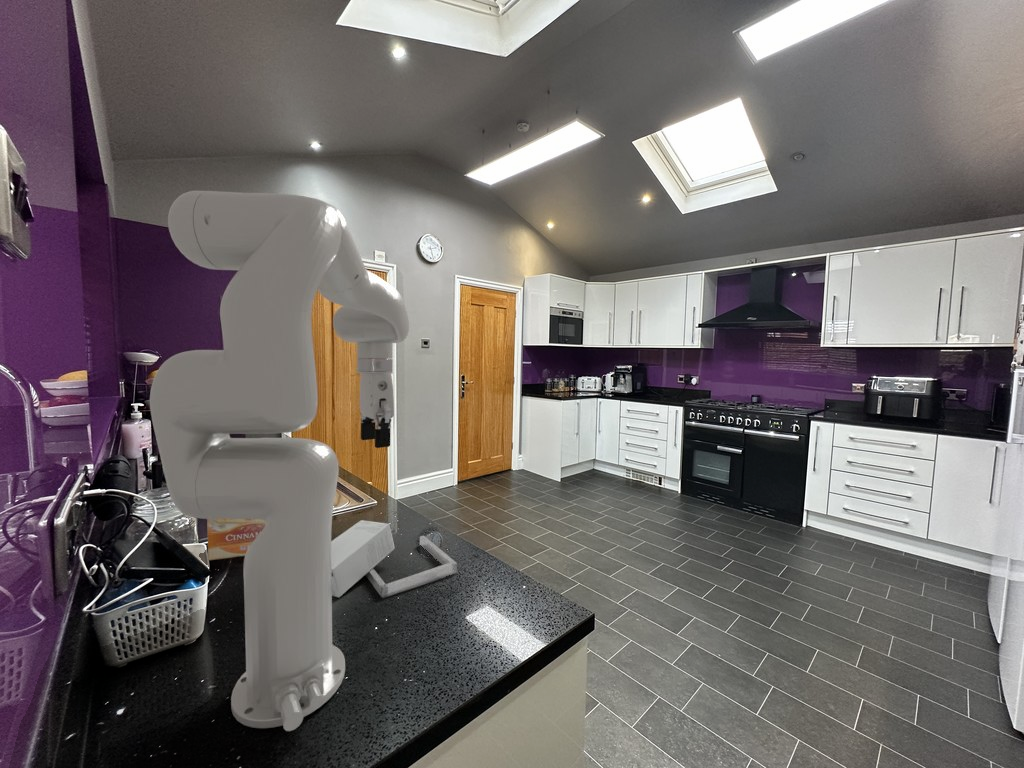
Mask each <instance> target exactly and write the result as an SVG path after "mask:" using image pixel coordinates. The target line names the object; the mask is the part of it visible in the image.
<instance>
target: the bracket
mask: <svg viewBox="0 0 1024 768" xmlns="http://www.w3.org/2000/svg"><path fill="white" fill-rule="evenodd" d="M420 545H421V546H422V547H423V548H424V549H423V548H422V547H421V546H420ZM419 546H420V547H421V548H422V549H423V550H425V549H426V550H427V551H428V552H429V553H430V554H431V555H432V556H433V557H432V558H433V559H434V560H436V559H437V560H436V561H437V562H438V561H439V562H440V563H441V564H442V565H441V564H440V563H439V562H438V563H439V564H440V565H438V566H436V567H433V568H430V569H427V570H423V571H420V572H418V573H415V574H412V575H409V576H406V577H403V578H400V579H398V580H394V581H391V582H388V583H386V582H384V580H383V579H382V578H381V576H380V575H379V573H377V571H376V570H375V569H374V567H373V568H372V569H371V570H370V571H369V572H368V573H366V574H365V575H364V576H365V577H366V578H367V579H368V581H369V582H370V583H371V585H372V586H373V588H374V589H375V590H376V592H377V593H378V594H379V596H380V598H382V599H384V598H388V597H391V596H393V595H396V594H399V593H403V592H405V591H408V590H411V589H415V588H418V587H420V586H424V585H426V584H430V583H432V582H435V581H438V580H441V579H444V578H447V577H450V576H451V575H455V574H457V573H458V563H457V562H456V561H455V560H454V559H453V558H451V557H450V555H448V554H447V553H446V552H445V551H443V550H442V549H441V548H439V547H438V546H437V545H436V544H435V543H434V542H433V541H431V540H430V539H428V537H427V536H425V535H420V536H419ZM426 550H425V551H426ZM427 551H426V552H427ZM428 552H427V553H428ZM429 553H428V554H429ZM430 554H429V555H430ZM431 555H430V556H431ZM449 575H450V576H449ZM446 576H447V577H446Z"/></svg>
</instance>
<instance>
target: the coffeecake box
mask: <svg viewBox="0 0 1024 768" xmlns="http://www.w3.org/2000/svg"><path fill="white" fill-rule="evenodd" d="M206 521H207V522H206V523H207V525H206V526H207V555H208V557H207V558H209V560H208V561H214V560H215V561H216V560H222V559H230V558H236V557H237V558H238V557H245V555H246V552H247V550H248V548H249V546H250V545H251V543H252V542H253V541H254V539H255V538H256V537H257V536H258V535H259V534H260V533H261V532H262V530H263V529H264V527H265V521H264V520H261V519H206Z"/></svg>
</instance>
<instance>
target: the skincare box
mask: <svg viewBox="0 0 1024 768" xmlns="http://www.w3.org/2000/svg"><path fill="white" fill-rule="evenodd" d="M394 550H395V544H394V538H393V534H392V530H391V525H390V523H385V522H377V521H372V520H371V521H370V520H363V519H361V520H359V521H357V523H355V524H353V526H350V528H348V529H347V530H344V532H342V533H341V534H339V535H338V536H337V537H335V538H334V539H332V540H331V573H332V597H335V598H340V597H342V596H343V594H345V593H346V592H347V591H348V590H349V589H350V588H352V587H353V586H354V585H355V584H356V583H358V582H359V581H360V580H361V579H362V578H363V577H364V576H366V575H365V574H366V573H368V572H369V571H370V570H371V569H372V568H373V569H374V568H375V567H376V566H377V565H378V564H379V563H380V562H382V560H384V559H385V558H386V557H387V556H389V555H390V554H391V553H392V551H394Z"/></svg>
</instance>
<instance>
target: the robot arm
mask: <svg viewBox="0 0 1024 768" xmlns="http://www.w3.org/2000/svg"><path fill="white" fill-rule="evenodd" d="M167 226H168V231H169V234H170V237H171V240H172V241H173V243H174V245H175V247H176V248H177V249H178V250H179V252H180V253H181V254H182V255H183V256H184V257H185V258H186V259H187V260H189V261H190V262H191V263H193V264H195V265H197V266H198V267H201V268H205V269H208V270H216V271H217V270H219V271H237V272H236V273H235V274H233V277H232V278H231V280H230V281H229V283H228V284H227V285H226V289H225V290H224V293H223V295H222V298H221V301H220V306H219V316H220V324H221V332H222V334H221V335H222V342H223V349H194V350H187V351H183V352H179V353H176V354H174V355H172V356H170V357H169V358H168V359H166V360H164V362H163V363H162V364H161V365H160V366H159V368H158V370H157V371H156V373H155V375H154V378H153V380H152V384H151V387H150V394H149V410H150V416H151V421H152V426H153V431H154V434H155V439H156V443H157V447H158V452H159V457H160V461H161V465H162V469H163V475H164V478H165V482H166V485H167V490H168V493H169V496H170V498H171V499H170V500H171V501H172V503H173V505H174V506H175V508H176V509H177V510H178V511H179V512H181V513H182V514H183V515H185V516H188V517H190V518H194V519H202V520H203V519H205V520H207V519H261V520H264V521H265V527H264V529H263V530H262V532H261V533H260V534H259V535H258V536H257V537H256V538H255V539H254V541H253V542H252V543H251V545H250V546H249V548H248V550H247V552H246V555H245V556H244V558H243V565H242V566H243V571H242V572H243V573H242V574H243V575H242V576H243V595H244V596H243V597H244V599H243V600H244V632H245V633H244V638H245V670H246V671H245V672H244V673H242V675H241V676H240V678H239V679H238V680H237V682H236V683H235V685H234V687H233V689H232V691H231V696H230V701H231V702H230V706H231V707H230V708H231V709H230V710H231V712H232V715H233V717H234V718H235V720H236V721H237V722H239V723H240V724H242V725H243V726H246V727H249V728H252V729H253V728H255V729H269V728H270V729H271V728H272V729H273V728H276V727H282V726H283V730H285V732H291V731H294V730H296V729H297V728H298V727H300V725H301V724H302V723H303V720H304V718H305V717H306V716H308V715H309V716H310V714H312V713H314V712H315V711H316V710H317V709H319V708H321V707H322V706H323V705H324V704H325V703H327V702H328V701H329V700H330V699H331V698H332V697H333V695H335V693H336V692H337V690H338V689H339V687H340V686H341V685H342V683H343V680H344V677H345V672H346V660H345V655H344V653H343V651H342V650H341V649H340V648H338V647H337V646H336V645H334V644H333V600H332V599H333V596H332V573H331V541H332V526H333V525H332V524H333V513H334V512H333V511H334V505H335V504H334V503H335V498H336V492H337V488H338V487H337V486H338V480H339V470H340V468H339V460H338V457H337V456H338V455H337V454H336V452H335V451H334V449H332V448H331V446H329V445H327V444H326V443H324V442H323V441H322V442H321V441H318V440H317V439H316V440H314V439H311V438H303V437H251V438H250V437H249V438H248V437H244V438H243V437H231V436H230V435H234V434H235V435H239V434H242V435H246V434H247V435H263V434H264V435H272V434H274V435H275V434H284V433H285V434H286V433H293V432H297V431H301V430H303V429H305V428H307V427H308V426H309V425H310V424H311V423H312V422H313V421H314V419H315V417H316V415H317V411H318V404H319V403H318V394H319V393H318V383H317V382H318V381H317V372H316V371H317V370H316V363H315V361H316V359H315V352H314V341H313V332H312V331H313V329H312V311H313V310H312V309H313V305H314V300H315V297H316V294H317V292H319V294H320V295H321V296H322V297H323V298H324V299H325V300H327V301H329V302H331V303H333V304H336V305H339V306H341V307H339V308H338V309H337V310H336V311H335V313H334V315H333V318H332V324H333V325H332V326H333V329H334V332H335V334H336V335H337V336H338V337H339V339H341V340H342V341H345V342H348V343H355V344H356V353H357V354H356V373H357V374H360V380H359V412H360V416H361V417H360V440H361V441H367V440H368V441H371V440H374V447H375V448H377V449H379V448H389V447H390V446H391V427H392V418H393V417H394V416H395V399H394V385H393V378H392V374H393V373H394V372H393V371H394V370H393V369H394V367H393V362H394V360H393V358H394V357H393V356H394V355H393V351H394V349H393V347H394V344H399V343H401V342H404V341H405V340H406V338H407V336H408V335H409V331H410V320H409V317H408V312H407V310H406V309H407V308H406V305H405V302H404V299H403V297H402V294H400V292H399V291H398V290H397V288H395V287H394V286H393V285H392V284H390V283H389V282H387V281H386V280H385V279H383V278H381V277H380V276H379V275H377V274H375V273H374V272H372V271H370V270H368V269H367V268H366V266H365V264H364V261H363V259H362V257H361V253H360V252H359V248H358V247H357V245H356V242H355V239H354V237H353V234H352V232H351V230H350V227H349V225H348V223H347V220H346V219H345V217H344V214H342V212H341V211H340V210H339V209H337V208H336V207H335V206H334V205H332V204H330V203H328V202H326V201H323V200H320V199H318V198H313V197H308V196H304V195H297V194H288V193H287V194H286V193H273V192H272V193H270V192H269V193H267V192H240V191H239V192H235V191H218V190H217V191H216V190H190V191H187V192H184V193H182V194H181V195H178V197H177V198H176V199H175V200H174V201H173V202H172V204H171V206H170V208H169V211H168V215H167Z"/></svg>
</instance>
